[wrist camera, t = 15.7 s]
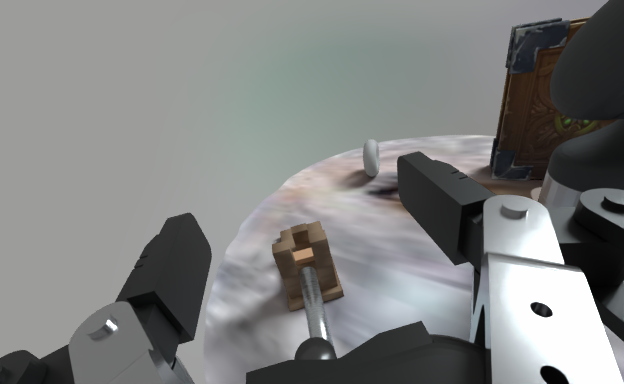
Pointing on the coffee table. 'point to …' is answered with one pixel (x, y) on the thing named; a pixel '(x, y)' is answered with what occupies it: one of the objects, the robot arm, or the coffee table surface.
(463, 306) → the coffee table surface
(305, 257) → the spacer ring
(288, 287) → the shaft stand
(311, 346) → the grey piece
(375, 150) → the donut
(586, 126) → the decorative book
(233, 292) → the coffee table surface
